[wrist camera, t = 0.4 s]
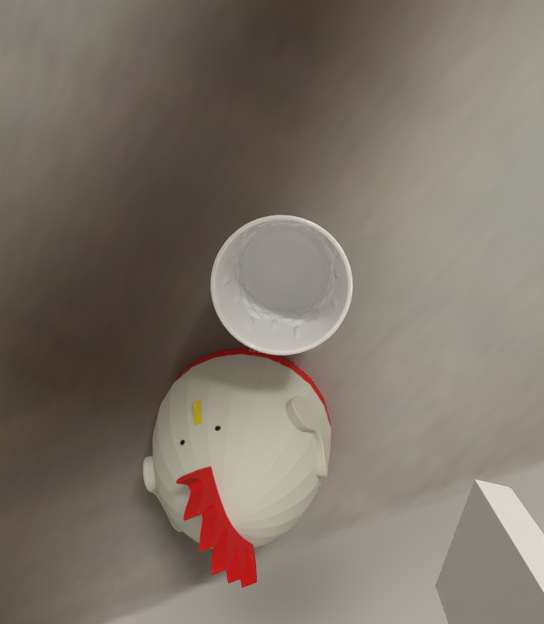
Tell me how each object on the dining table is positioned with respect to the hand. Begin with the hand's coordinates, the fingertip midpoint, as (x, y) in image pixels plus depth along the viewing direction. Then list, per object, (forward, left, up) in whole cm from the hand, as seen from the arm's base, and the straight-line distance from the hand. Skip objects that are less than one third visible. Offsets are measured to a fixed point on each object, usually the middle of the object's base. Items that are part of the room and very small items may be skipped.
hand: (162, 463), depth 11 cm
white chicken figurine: (+13, +2, -28) cm, 31 cm away
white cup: (-1, +2, -28) cm, 28 cm away
